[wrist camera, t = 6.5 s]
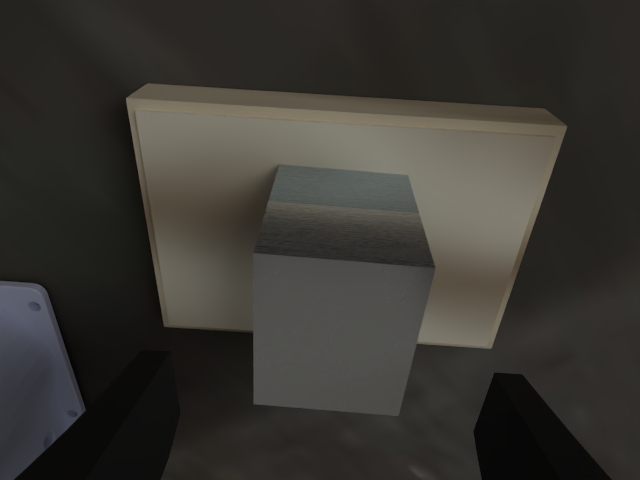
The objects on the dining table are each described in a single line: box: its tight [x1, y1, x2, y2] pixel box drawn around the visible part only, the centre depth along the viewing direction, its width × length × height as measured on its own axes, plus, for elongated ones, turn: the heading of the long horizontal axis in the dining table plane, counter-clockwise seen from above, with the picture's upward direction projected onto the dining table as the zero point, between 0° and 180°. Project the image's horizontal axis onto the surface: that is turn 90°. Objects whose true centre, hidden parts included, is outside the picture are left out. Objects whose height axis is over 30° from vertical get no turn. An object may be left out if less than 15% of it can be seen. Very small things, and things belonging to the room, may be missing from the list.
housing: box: [253, 164, 436, 416], centre depth 14 cm, size 5×4×5 cm
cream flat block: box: [126, 83, 567, 349], centre depth 17 cm, size 9×13×2 cm
